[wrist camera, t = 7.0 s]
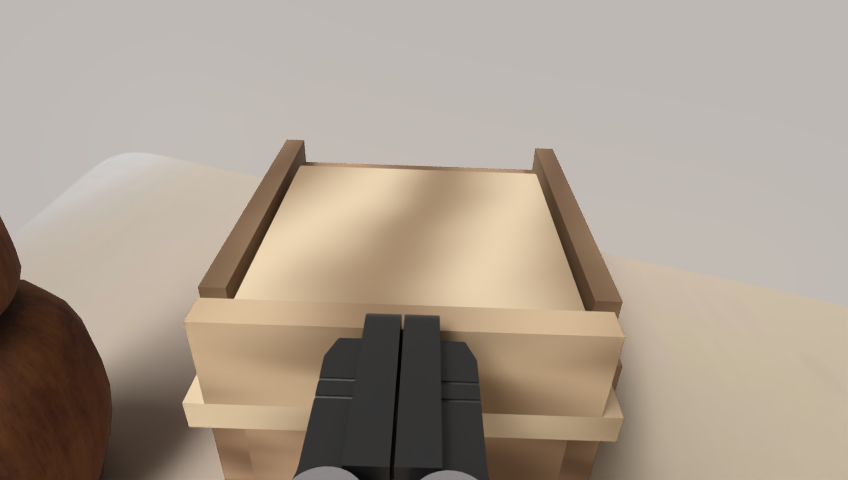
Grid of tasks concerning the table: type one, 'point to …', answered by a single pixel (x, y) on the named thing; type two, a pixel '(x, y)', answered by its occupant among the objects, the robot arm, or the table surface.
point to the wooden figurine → (47, 383)
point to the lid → (410, 302)
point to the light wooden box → (506, 457)
